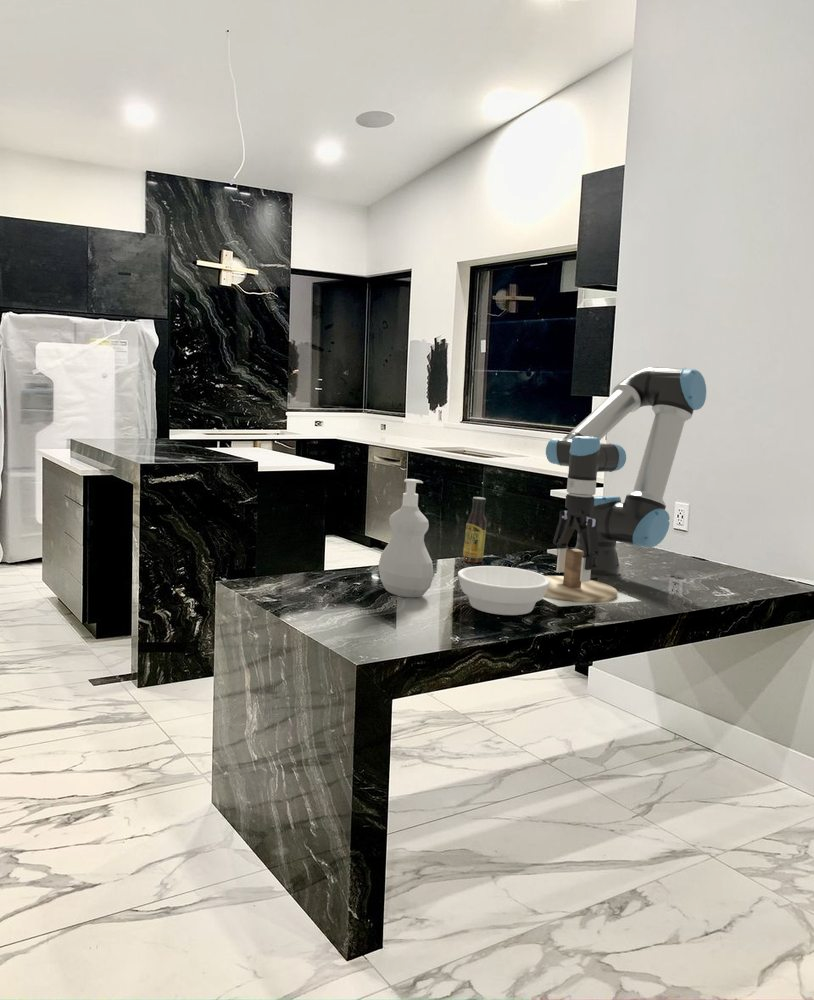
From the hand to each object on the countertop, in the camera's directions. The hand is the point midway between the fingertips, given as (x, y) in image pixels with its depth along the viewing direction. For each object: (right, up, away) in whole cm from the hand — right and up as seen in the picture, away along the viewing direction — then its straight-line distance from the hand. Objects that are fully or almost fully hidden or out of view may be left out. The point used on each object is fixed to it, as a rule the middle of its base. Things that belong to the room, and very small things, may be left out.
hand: (572, 576), depth 232 cm
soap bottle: (-45, -4, -12) cm, 47 cm away
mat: (0, -4, +1) cm, 5 cm away
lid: (0, -4, +1) cm, 4 cm away
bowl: (-22, -6, -20) cm, 30 cm away
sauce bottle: (-24, +2, +33) cm, 41 cm away
